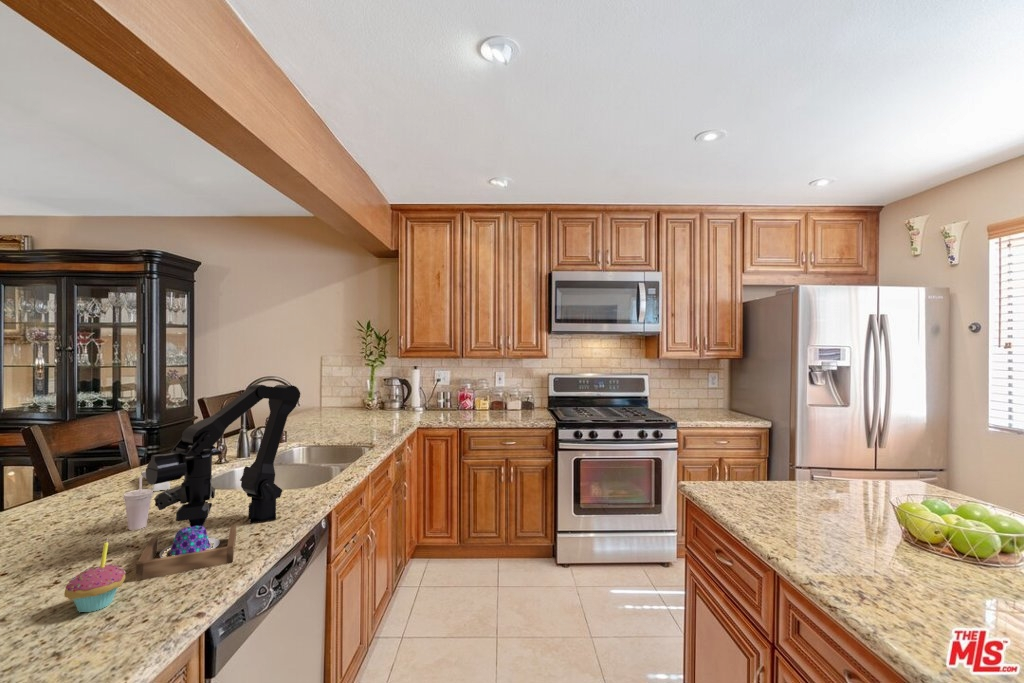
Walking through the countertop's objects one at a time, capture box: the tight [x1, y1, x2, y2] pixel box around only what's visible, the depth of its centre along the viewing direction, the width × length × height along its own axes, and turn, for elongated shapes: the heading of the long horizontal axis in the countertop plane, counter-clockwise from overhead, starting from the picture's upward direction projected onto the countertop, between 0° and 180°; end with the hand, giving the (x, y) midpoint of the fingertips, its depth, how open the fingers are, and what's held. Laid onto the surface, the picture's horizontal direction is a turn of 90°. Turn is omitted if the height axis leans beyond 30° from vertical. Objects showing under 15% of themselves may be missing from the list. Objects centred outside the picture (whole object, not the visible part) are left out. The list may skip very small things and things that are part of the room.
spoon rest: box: [140, 470, 171, 492], centre depth 160 cm, size 24×12×7 cm, turn 40°
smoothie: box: [122, 475, 155, 531], centre depth 120 cm, size 6×6×14 cm
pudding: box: [158, 525, 221, 558], centre depth 108 cm, size 12×12×5 cm
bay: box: [134, 524, 237, 581], centre depth 104 cm, size 17×15×4 cm
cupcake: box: [64, 537, 126, 613], centre depth 84 cm, size 9×8×12 cm
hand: (195, 536), depth 112 cm, fingers closed
